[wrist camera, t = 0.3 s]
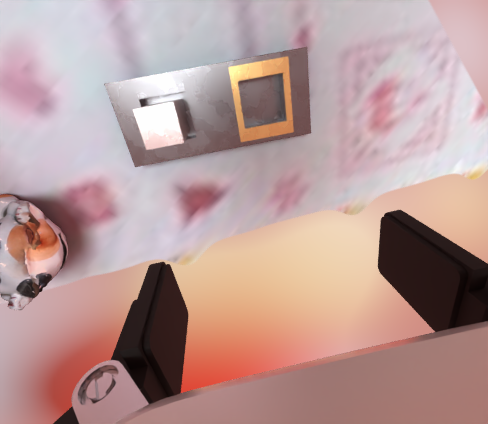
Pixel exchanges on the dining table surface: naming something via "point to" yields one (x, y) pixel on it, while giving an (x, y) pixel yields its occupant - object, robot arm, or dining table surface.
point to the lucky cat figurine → (27, 251)
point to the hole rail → (221, 104)
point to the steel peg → (162, 123)
